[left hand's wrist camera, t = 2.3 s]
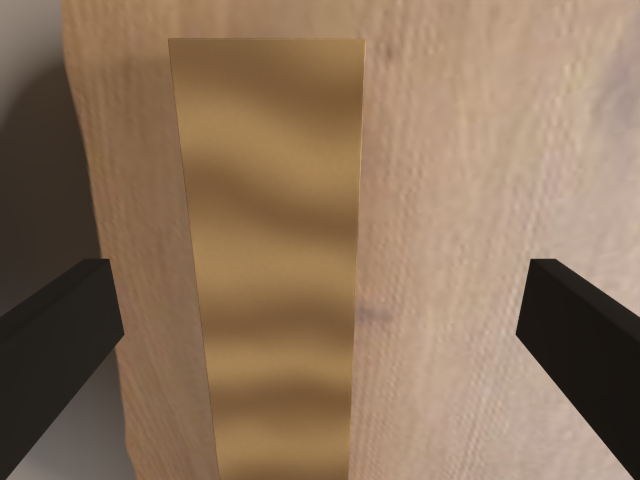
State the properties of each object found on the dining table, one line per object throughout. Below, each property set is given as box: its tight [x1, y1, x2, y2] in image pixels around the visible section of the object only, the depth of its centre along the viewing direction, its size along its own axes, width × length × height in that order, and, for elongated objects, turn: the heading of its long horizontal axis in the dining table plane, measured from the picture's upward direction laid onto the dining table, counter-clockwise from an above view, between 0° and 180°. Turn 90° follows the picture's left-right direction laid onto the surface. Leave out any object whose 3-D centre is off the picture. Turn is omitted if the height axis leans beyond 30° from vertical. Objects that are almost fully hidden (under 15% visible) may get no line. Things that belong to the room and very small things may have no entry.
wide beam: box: [168, 38, 366, 480], centre depth 32 cm, size 58×9×7 cm, turn 0°
